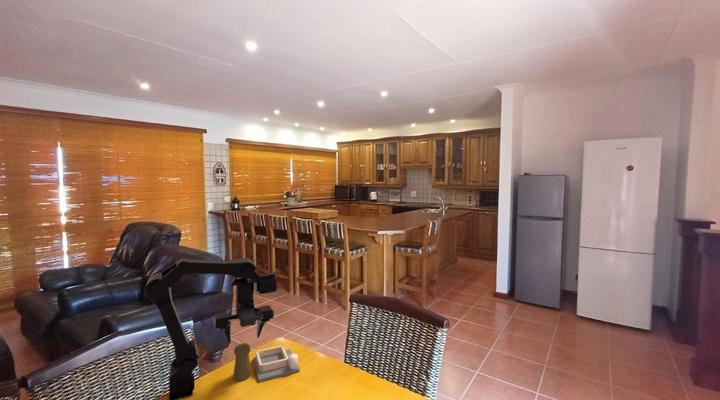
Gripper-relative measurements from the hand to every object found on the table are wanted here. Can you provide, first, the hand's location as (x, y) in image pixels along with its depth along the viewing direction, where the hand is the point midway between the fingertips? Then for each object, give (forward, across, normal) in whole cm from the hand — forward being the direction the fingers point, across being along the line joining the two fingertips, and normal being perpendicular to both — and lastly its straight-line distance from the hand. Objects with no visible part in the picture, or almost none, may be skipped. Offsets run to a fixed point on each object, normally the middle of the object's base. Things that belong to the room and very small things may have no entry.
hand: (244, 340), depth 110 cm
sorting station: (+12, +11, 0) cm, 17 cm away
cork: (+13, 0, 0) cm, 13 cm away
